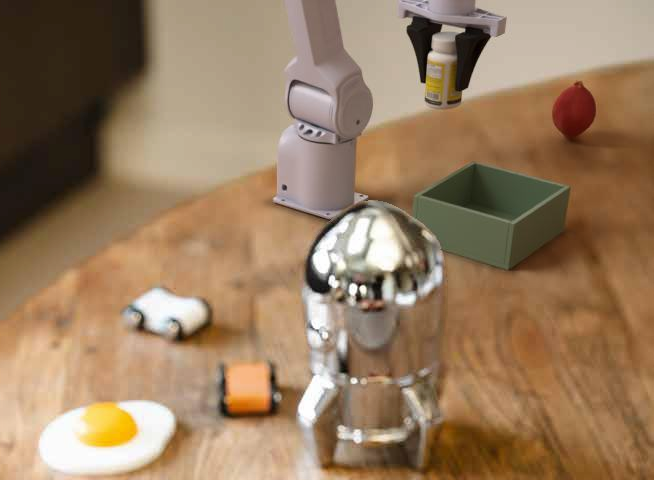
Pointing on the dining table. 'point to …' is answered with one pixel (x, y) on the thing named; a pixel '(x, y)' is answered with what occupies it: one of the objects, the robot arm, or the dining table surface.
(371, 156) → the dining table surface
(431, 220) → the bin
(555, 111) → the onion
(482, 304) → the dining table surface
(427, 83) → the supplement bottle
